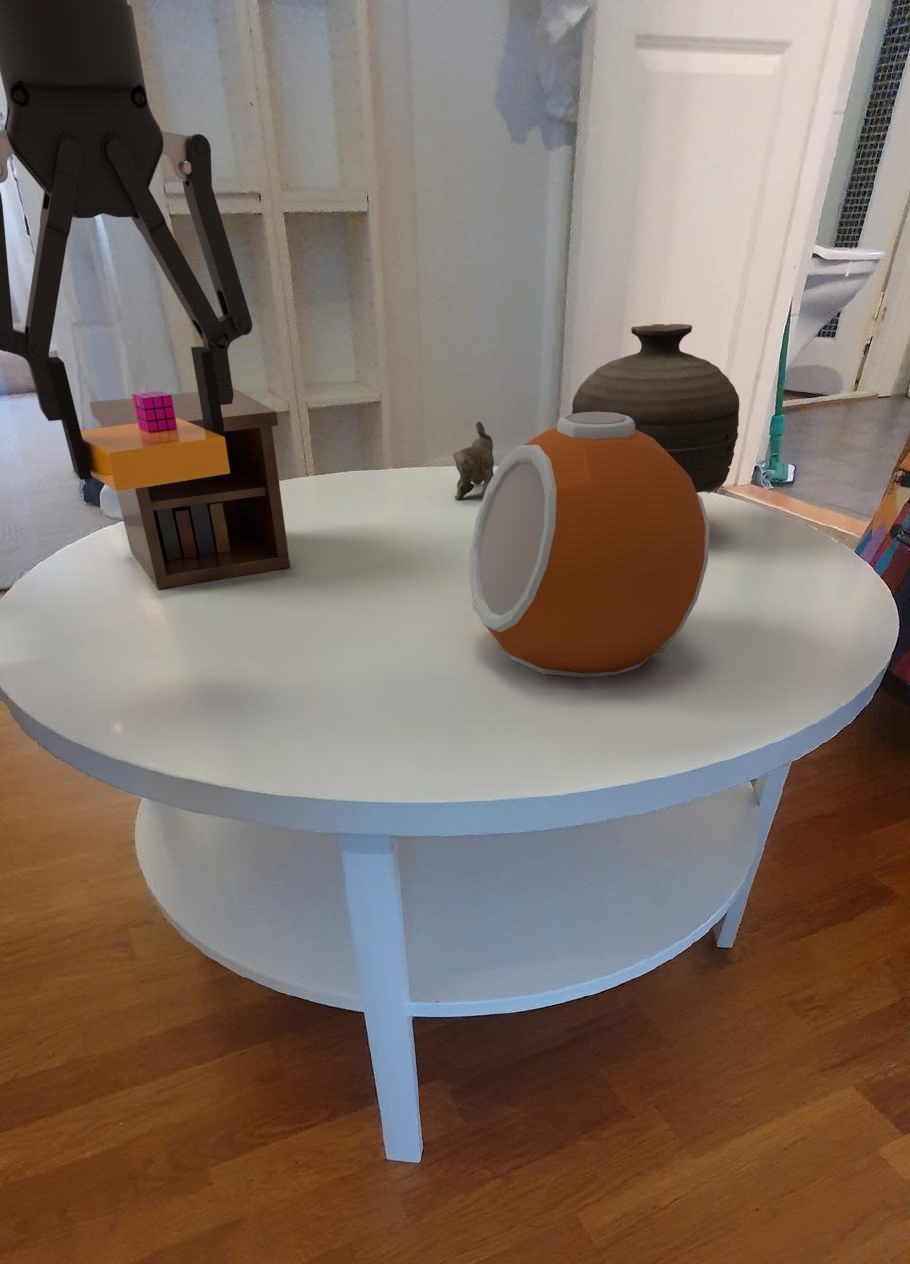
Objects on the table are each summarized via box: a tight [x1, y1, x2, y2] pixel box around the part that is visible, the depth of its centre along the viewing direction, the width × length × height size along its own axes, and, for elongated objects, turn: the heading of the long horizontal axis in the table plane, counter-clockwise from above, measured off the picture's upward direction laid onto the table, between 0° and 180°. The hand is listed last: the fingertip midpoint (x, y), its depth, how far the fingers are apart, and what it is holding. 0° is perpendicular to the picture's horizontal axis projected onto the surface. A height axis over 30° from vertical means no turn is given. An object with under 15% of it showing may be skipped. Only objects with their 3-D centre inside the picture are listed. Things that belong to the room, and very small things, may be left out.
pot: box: [571, 323, 740, 494], centre depth 97 cm, size 18×18×20 cm
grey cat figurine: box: [452, 421, 495, 501], centre depth 114 cm, size 12×6×7 cm, turn 171°
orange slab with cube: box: [80, 390, 230, 492], centre depth 61 cm, size 8×8×4 cm
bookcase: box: [89, 387, 291, 590], centre depth 94 cm, size 15×15×14 cm
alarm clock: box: [468, 412, 710, 678], centre depth 73 cm, size 19×18×17 cm
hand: (152, 466), depth 63 cm, fingers closed on orange slab with cube, 9 cm apart
